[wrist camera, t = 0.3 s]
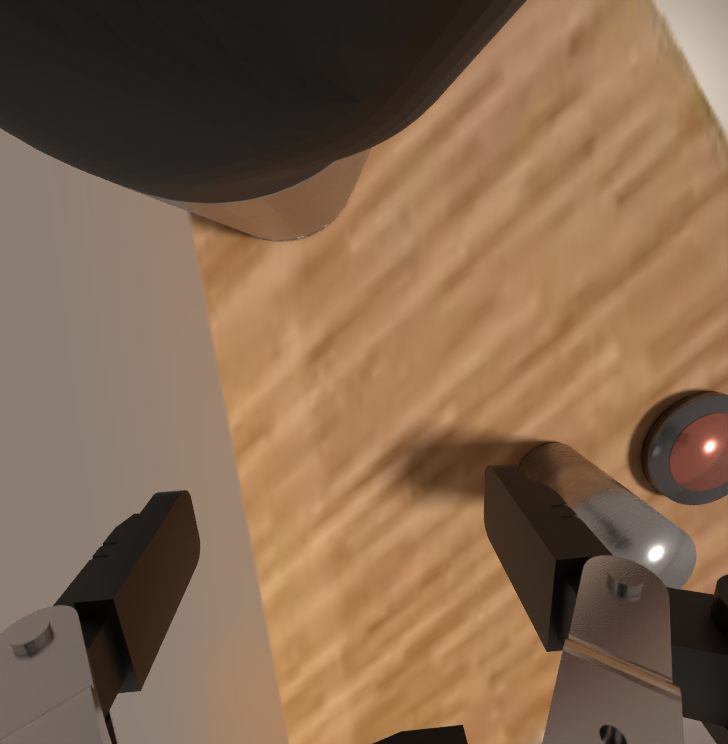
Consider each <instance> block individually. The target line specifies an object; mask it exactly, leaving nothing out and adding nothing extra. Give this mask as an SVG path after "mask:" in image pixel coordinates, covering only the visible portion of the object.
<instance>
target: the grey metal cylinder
mask: <svg viewBox="0 0 728 744" xmlns="http://www.w3.org/2000/svg"><path fill="white" fill-rule="evenodd" d="M519 468H520V469H521V470H522V471H523V473H524V474H525V475H526V476H527V477H528V479H529V480H530V481H540V482H541V483H543V484H545V485H546V486H548V487H550V488H551V489H553V490H555V491H556V492H557V493H558V494H559V495H560V496H561V497H562V498H563V500H564V501H565V502H566V503H567V504H568V507H571V509H572V510H573V511H574V512H575V513H576V514H577V517H578V518H580V519H581V520H582V521H583V522H584V523H585V524H586V525H587V527H588V528H589V529H590V530H591V531H592V532H593V533H594V534H595V536H596V537H597V538H598V539H599V540H600V541H601V542H602V543H603V544H604V546H605V547H606V548H607V549H608V550H609V551H610V552H611V553H612V555H613V556H618V557H622V558H626V559H629V560H631V561H634V562H636V563H638V564H640V565H642V566H644V567H646V568H647V569H649V570H650V571H652V572H653V573H654V574H655V575H657V576H658V577H659V578H660V579H661V581H662V582H663V583H664V585H665V586H666V587H669V588H674V589H681V588H682V587H683V586H684V585H685V583H686V582H687V581H688V579H689V578H690V576H691V574H692V572H693V570H694V566H695V562H696V548H695V545H694V543H693V541H692V539H691V538H690V536H689V535H688V534H687V533H686V532H684V531H683V530H682V529H680V528H679V527H678V526H676V525H675V524H674V523H672V522H671V521H670V520H668V519H667V518H666V517H664V516H663V515H662V514H660V513H659V512H657V511H656V510H655V509H653V508H652V507H651V506H649V505H648V504H647V503H645V502H644V501H643V500H641V499H640V498H639V497H637V496H636V495H635V494H633V493H632V492H631V491H629V490H628V489H627V488H625V487H624V486H622V485H621V484H620V483H618V482H617V481H616V480H614V479H613V478H612V477H610V476H609V475H608V474H606V473H605V472H604V471H602V470H601V469H600V468H598V467H597V466H596V465H594V464H593V463H592V462H590V461H589V460H587V459H586V458H585V457H583V456H582V455H581V454H579V453H578V452H577V451H575V450H574V449H573V448H571V447H570V446H568V445H565V444H562V443H548V444H544V445H542V446H539V447H537V448H535V449H534V450H532V451H531V452H530V453H529V454H528V455H527V456H526V457H525V458H524V459H523V461H522V463H521V464H520V466H519Z"/></svg>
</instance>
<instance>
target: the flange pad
mask: <svg viewBox="0 0 728 744" xmlns="http://www.w3.org/2000/svg"><path fill="white" fill-rule="evenodd" d="M643 469H644V472H645V475H646V477H647V479H648V481H649V482H650V484H651V485H652V486H653V487H654V488H655V489H656V490H657V491H659V492H660V493H662V494H663V495H665V496H666V497H668V498H669V499H671V500H673V501H675V502H677V503H681V504H686V505H700V504H706V503H710V502H713V501H715V500H718V499H720V498H722V497H724V496H726V495H727V494H728V395H726V394H723V393H718V392H704V393H699V394H695V395H692V396H689V397H687V398H685V399H683V400H681V401H679V402H677V403H676V404H674V405H673V406H671V407H670V408H669V409H668V410H667V411H665V412H664V413H663V414H662V415H661V417H660V418H659V419H658V420H657V421H656V423H655V424H654V426H653V427H652V429H651V431H650V432H649V434H648V437H647V439H646V442H645V445H644V449H643Z"/></svg>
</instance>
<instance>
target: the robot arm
mask: <svg viewBox="0 0 728 744" xmlns="http://www.w3.org/2000/svg"><path fill="white" fill-rule="evenodd" d="M525 2H526V0H0V128H2V129H3V130H5V131H6V132H8V133H10V134H11V135H13V136H15V137H17V138H19V139H20V140H22V141H24V142H25V143H27V144H29V145H30V146H32V147H34V148H36V149H38V150H39V151H41V152H43V153H45V154H47V155H50V156H52V157H54V158H56V159H58V160H60V161H62V162H64V163H67V164H69V165H71V166H73V167H76V168H78V169H80V170H82V171H85V172H87V173H90V174H93V175H95V176H98V177H101V178H103V179H105V180H108V181H111V182H113V183H116V184H119V185H121V186H123V187H126V188H128V189H131V190H134V191H136V192H139V193H141V194H144V195H147V196H149V197H152V198H155V199H158V200H160V201H163V202H165V203H168V204H170V205H174V206H176V207H179V208H182V209H184V210H187V211H190V212H192V213H195V214H197V215H200V216H203V217H205V218H208V219H211V220H213V221H216V222H218V223H221V224H224V225H226V226H229V227H231V228H234V229H237V230H239V231H242V232H244V233H247V234H250V235H251V236H253V237H256V238H259V239H263V240H269V241H270V240H271V241H277V242H280V241H295V240H299V239H303V238H307V237H310V236H312V235H314V234H315V233H317V232H319V231H321V230H323V229H324V228H325V227H326V226H328V225H329V224H330V223H331V222H332V221H334V220H335V219H336V217H337V216H338V215H339V213H340V212H341V211H342V209H343V208H344V207H345V205H346V203H347V201H348V199H349V197H350V194H351V193H352V191H353V189H354V187H355V184H356V182H357V180H358V178H359V175H360V173H361V171H362V169H363V166H364V164H365V162H366V160H367V157H368V155H369V153H370V151H371V148H372V147H374V146H376V145H378V144H380V143H382V142H383V141H385V140H387V139H389V138H391V137H392V136H394V135H396V134H397V133H399V132H401V131H402V130H403V129H405V128H406V127H407V126H409V125H410V124H411V123H413V122H414V121H415V120H417V119H418V118H419V117H420V116H421V115H422V114H423V113H424V112H425V111H426V110H427V109H428V108H429V107H430V106H432V105H433V104H434V103H435V102H436V101H437V100H438V98H439V97H440V96H441V95H442V94H443V93H444V92H445V91H446V89H447V88H448V87H449V86H450V85H451V84H452V83H453V82H454V81H455V79H456V78H457V77H458V76H459V75H460V74H461V73H462V72H463V70H464V69H465V68H466V67H467V66H468V65H469V64H470V63H471V62H472V60H473V59H474V58H475V57H476V56H477V55H478V54H479V53H480V51H481V50H482V49H483V48H484V47H485V46H486V45H487V44H488V43H489V41H490V40H491V39H492V38H493V37H494V36H495V35H496V34H497V33H498V31H499V30H500V29H501V28H502V27H503V26H504V25H505V24H506V23H507V21H508V20H509V19H510V18H511V17H512V16H513V15H514V14H515V13H516V12H517V10H518V9H519V8H520V7H521V6H522V5H523V4H524V3H525ZM484 523H485V528H486V532H487V536H488V538H489V540H490V542H491V544H492V546H493V548H494V550H495V552H496V554H497V556H498V558H499V560H500V562H501V564H502V566H503V568H504V570H505V571H506V573H507V575H508V577H509V579H510V581H511V583H512V585H513V587H514V589H515V591H516V593H517V595H518V597H519V599H520V601H521V603H522V605H523V606H524V608H525V610H526V612H527V614H528V616H529V618H530V620H531V622H532V624H533V626H534V628H535V630H536V632H537V634H538V636H539V638H540V640H541V641H542V643H543V645H544V647H545V649H546V651H547V652H551V651H561V650H563V651H562V656H561V661H560V665H559V670H558V674H557V679H556V683H555V688H554V692H553V697H552V701H551V706H550V711H549V715H548V720H547V724H546V729H545V733H544V738H543V742H542V744H684V732H683V717H685V718H690V719H694V720H698V721H701V722H702V723H703V725H704V726H705V728H706V729H707V730H708V732H709V733H710V735H711V736H712V737H713V739H714V740H715V742H716V743H717V744H728V575H725V576H723V577H721V578H719V580H718V581H717V584H716V589H715V593H714V595H712V594H706V593H700V592H693V591H687V590H681V589H674V588H669V587H666V586H665V585H664V583H663V582H662V581H661V579H660V578H659V577H658V576H657V575H655V574H654V573H653V572H652V571H650V570H649V569H647V568H646V567H644V566H642V565H640V564H638V563H636V562H634V561H631V560H629V559H626V558H622V557H618V556H613V555H612V553H611V552H610V551H609V550H608V549H607V548H606V547H605V546H604V544H603V543H602V542H601V541H600V540H599V539H598V538H597V537H596V536H595V534H594V533H593V532H592V531H591V530H590V529H589V528H588V527H587V525H586V524H585V523H584V522H583V521H582V520H581V519H580V518H578V517H577V514H576V513H575V512H574V511H573V510H572V509H571V507H568V504H567V503H566V502H565V501H564V500H563V498H562V497H561V496H560V495H559V494H558V493H557V492H556V491H555V490H553V489H551V488H550V487H548V486H546V485H545V484H543V483H541V482H540V481H530V480H529V479H528V477H527V476H526V475H525V474H524V473H523V471H522V470H521V469H520V468H519V466H518V465H516V464H508V465H496V466H488V467H487V468H486V472H485V496H484ZM199 555H200V539H199V533H198V529H197V524H196V519H195V514H194V510H193V505H192V500H191V496H190V494H189V492H188V491H186V490H183V491H171V492H158V493H156V494H154V495H153V497H152V498H151V499H150V501H149V502H148V503H147V505H146V506H145V507H144V509H143V510H142V511H141V513H140V514H133V515H132V516H131V517H129V518H128V519H127V520H125V521H124V522H123V523H121V524H120V525H119V526H117V527H116V528H115V529H114V530H113V532H112V533H111V534H110V535H109V536H108V538H107V539H106V540H105V541H104V543H103V546H101V547H100V548H99V549H98V550H97V551H96V553H95V554H94V555H93V559H92V560H89V562H88V563H87V564H86V565H85V567H84V568H83V569H82V570H81V572H80V573H79V574H78V575H77V577H76V578H75V579H74V580H73V582H72V583H71V584H70V585H69V587H68V588H67V589H66V590H65V592H64V593H63V594H62V595H61V597H60V598H59V599H58V601H57V602H56V603H55V604H54V605H53V606H52V607H47V608H44V609H41V610H38V611H36V612H33V613H31V614H29V615H27V616H25V617H23V618H21V619H20V620H18V621H17V622H15V623H13V624H12V625H11V626H9V627H8V628H7V629H5V630H4V631H3V632H2V633H0V744H119V742H118V738H117V734H116V730H115V726H114V722H113V718H112V715H111V712H110V708H111V706H112V704H113V702H114V700H115V698H116V696H117V694H118V693H125V692H135V691H141V689H142V687H143V685H144V682H145V680H146V678H147V676H148V673H149V671H150V669H151V666H152V664H153V662H154V660H155V658H156V655H157V653H158V651H159V649H160V646H161V644H162V642H163V640H164V638H165V635H166V633H167V631H168V628H169V626H170V624H171V622H172V620H173V617H174V615H175V613H176V611H177V608H178V606H179V604H180V602H181V599H182V597H183V595H184V593H185V591H186V588H187V586H188V584H189V582H190V579H191V577H192V575H193V572H194V570H195V568H196V566H197V563H198V560H199ZM373 744H468V743H467V739H466V736H465V732H464V728H463V725H457V726H448V727H439V728H429V729H420V730H411V731H401V732H399V733H397V734H394V735H392V736H390V737H387V738H385V739H383V740H380V741H378V742H376V743H373Z"/></svg>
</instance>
